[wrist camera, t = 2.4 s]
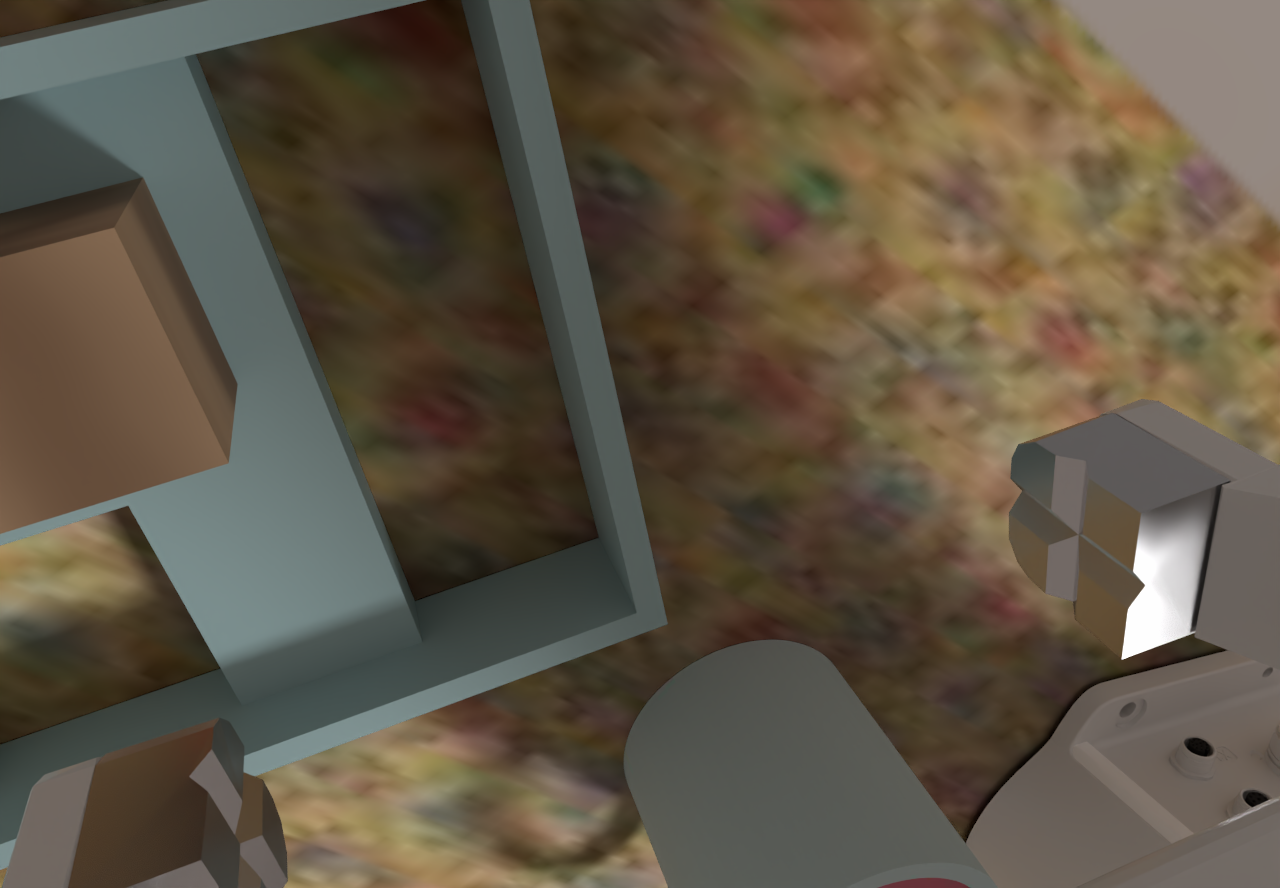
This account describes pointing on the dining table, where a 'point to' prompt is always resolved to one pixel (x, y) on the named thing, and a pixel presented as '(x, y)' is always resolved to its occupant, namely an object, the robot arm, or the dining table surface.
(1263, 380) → the dining table surface
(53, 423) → the block
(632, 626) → the tray
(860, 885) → the mug
